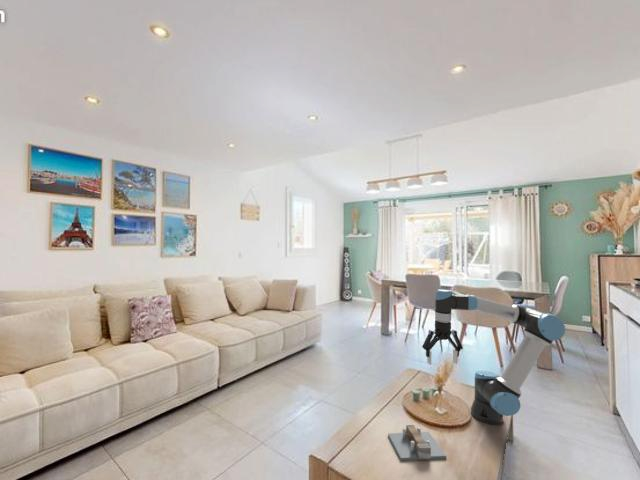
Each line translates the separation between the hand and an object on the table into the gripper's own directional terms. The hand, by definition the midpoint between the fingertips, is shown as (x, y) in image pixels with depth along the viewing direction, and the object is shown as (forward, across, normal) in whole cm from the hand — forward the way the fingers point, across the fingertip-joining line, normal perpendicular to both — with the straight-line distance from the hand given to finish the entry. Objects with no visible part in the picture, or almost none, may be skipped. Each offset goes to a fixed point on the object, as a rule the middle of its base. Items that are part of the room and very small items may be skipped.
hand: (442, 363), depth 147 cm
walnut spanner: (+30, +19, +14) cm, 39 cm away
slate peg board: (+32, +19, +13) cm, 39 cm away
